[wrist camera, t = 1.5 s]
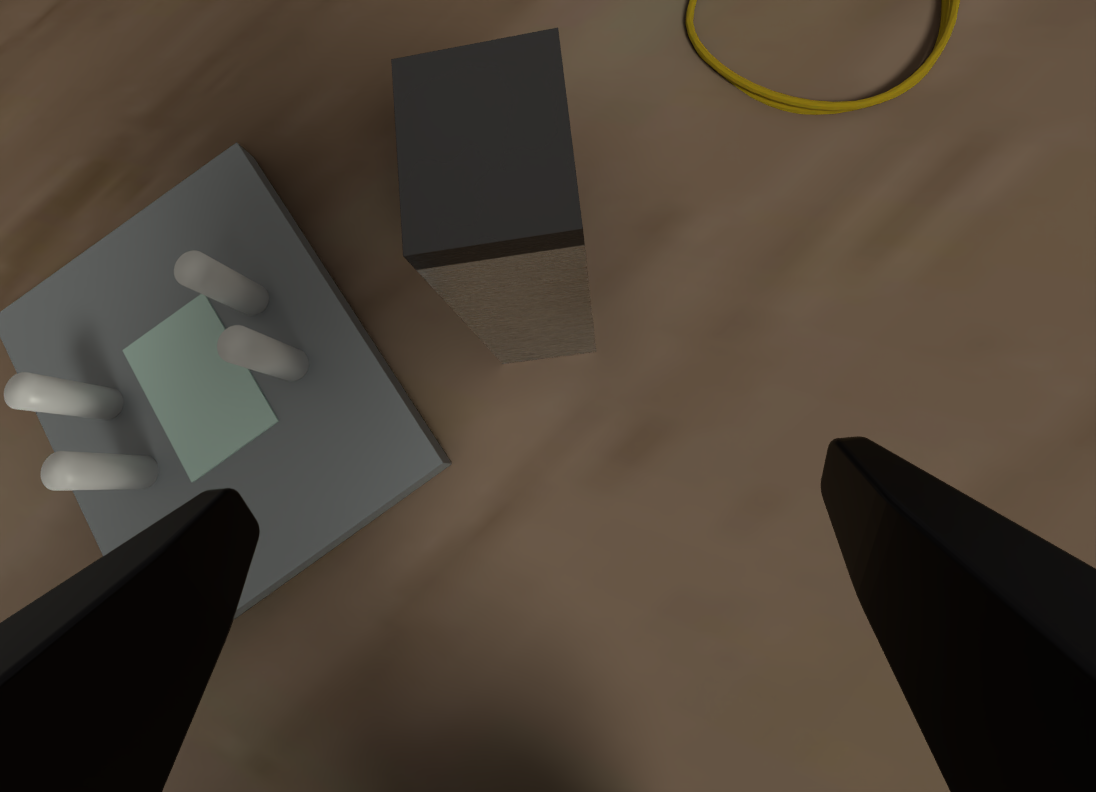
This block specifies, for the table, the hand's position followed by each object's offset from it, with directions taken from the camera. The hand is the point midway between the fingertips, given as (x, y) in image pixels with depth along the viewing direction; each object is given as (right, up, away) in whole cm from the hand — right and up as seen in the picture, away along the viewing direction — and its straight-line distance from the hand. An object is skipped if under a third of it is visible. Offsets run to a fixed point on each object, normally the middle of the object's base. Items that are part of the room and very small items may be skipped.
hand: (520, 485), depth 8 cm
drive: (0, +5, +15) cm, 16 cm away
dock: (-14, +2, +16) cm, 21 cm away
